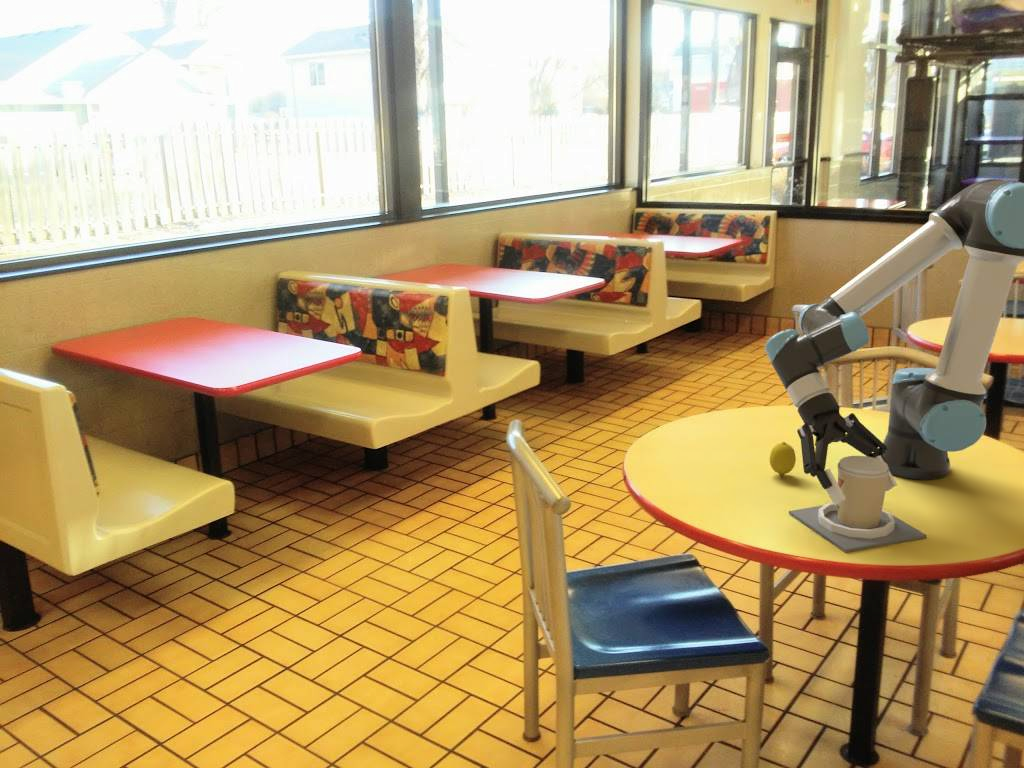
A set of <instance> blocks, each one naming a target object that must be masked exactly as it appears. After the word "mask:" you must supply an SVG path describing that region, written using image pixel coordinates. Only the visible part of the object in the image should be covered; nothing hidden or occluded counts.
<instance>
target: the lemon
mask: <svg viewBox="0 0 1024 768" xmlns="http://www.w3.org/2000/svg"><path fill="white" fill-rule="evenodd" d="M796 459H797V457H796V451H795V450H794V448H793V446H792V445H790V444H789V443H787V442H786V441H782V442H780V443H777V444H775V445H774V446H773V447H772V449H771V451H770V455H769V464H770V466H771V469H772V470H773V471H774V472H775V473H777V474H778V475H780V477H781V476H782V477H783V476H784V475H785V474H788V473H790V472H791V471H793V469H794V467H795V465H796Z"/></svg>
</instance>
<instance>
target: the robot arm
mask: <svg viewBox="0 0 1024 768" xmlns="http://www.w3.org/2000/svg"><path fill="white" fill-rule="evenodd" d="M963 248H965V250H966V251H967V253H968V254H969V257H968V262H967V265H966V268H965V271H964V274H963V278H962V281H961V285H960V289H959V292H958V295H957V298H956V302H955V304H954V307H953V312H952V314H951V317H950V321H949V324H948V328H947V330H946V331H947V332H946V334H945V338H944V340H943V345H942V346H941V347H942V348H941V352H940V354H939V357H938V361H937V364H936V368H931V367H906V368H905V367H904V368H899V369H898V370H896V371H895V372H894V373H893V378H892V382H891V394H890V395H891V396H890V404H889V415H888V425H887V426H888V427H887V433H886V435H885V438H884V439H883V442H882V441H881V440H880V439H879V438H878V437H877V436H876V435H875V434H874V433H872V431H870V430H869V429H868V428H867V427H866V426H865V425H864V424H862V422H860V420H859V418H858V417H857V416H856V414H855V413H853V412H851V413H849V414H848V415H847V416H845V417H843V416H842V415H841V413H840V404H839V402H837V399H836V398H835V395H834V394H833V393H831V392H830V391H831V389H830V386H829V385H828V383H827V382H826V380H825V379H824V377H823V374H822V373H821V371H820V370H819V368H821V367H823V366H825V365H827V364H829V363H831V362H833V361H836V360H838V359H840V358H842V357H845V356H847V355H848V354H849V355H850V354H851V353H854V352H856V351H858V350H860V349H861V348H862V347H865V346H867V345H868V344H869V343H870V339H871V337H870V334H869V333H870V332H869V331H868V328H867V325H866V324H865V322H864V320H863V318H862V316H863V315H865V314H866V313H867V312H869V311H870V310H872V308H874V307H876V306H877V305H878V304H880V303H881V302H882V301H883V300H885V299H886V298H888V297H889V296H891V295H892V294H893V293H895V292H896V291H897V290H899V289H900V288H901V287H903V286H904V285H906V284H907V283H908V282H910V281H911V280H913V279H914V278H915V277H916V276H918V275H919V274H920V273H922V272H923V271H924V270H926V269H927V268H928V267H930V266H931V265H933V264H934V263H935V262H937V261H938V260H939V259H941V258H942V257H944V256H945V255H946V254H947V253H949V252H950V251H951V250H961V249H963ZM1022 263H1024V182H1022V181H1018V182H1016V181H1008V180H1001V179H995V178H993V179H992V178H991V179H989V178H988V179H983V180H980V181H976V182H975V183H973V184H970V185H969V186H967V187H965V188H964V189H962V190H961V191H959V192H958V193H956V194H955V195H953V196H952V197H951V198H949V199H948V200H947V201H945V202H944V203H943V204H941V205H940V206H939V207H937V208H936V209H935V210H934V211H932V212H931V213H930V214H929V216H928V221H927V222H925V223H924V224H923V225H922V226H920V227H919V228H918V229H917V230H916V231H914V232H912V233H911V234H910V235H909V236H907V237H906V238H905V239H904V240H902V241H901V242H899V243H898V244H897V245H896V246H894V247H893V248H892V249H890V250H889V251H888V252H886V253H885V254H883V256H881V257H879V258H878V259H877V260H875V261H874V262H873V263H872V264H871V265H869V266H867V268H866V269H864V270H862V271H861V272H860V273H859V274H857V275H856V276H855V277H853V278H852V279H851V280H850V281H848V282H846V284H844V285H842V286H841V287H840V288H839V289H838V290H837V291H835V292H834V293H832V294H831V295H830V296H828V297H827V298H825V299H824V300H822V301H821V302H820V303H812V304H809V305H807V306H806V307H804V308H803V309H802V310H801V312H800V313H799V317H798V327H799V328H800V331H801V332H802V334H801V335H800V333H799V332H798V331H797V330H796V329H793V328H788V329H786V330H782V331H781V330H780V331H779V332H777V333H776V334H773V335H772V336H771V337H769V339H768V340H767V341H766V343H765V345H764V351H765V353H766V355H767V357H768V360H769V361H770V363H771V366H772V367H773V369H774V370H775V373H776V375H777V377H778V378H779V380H780V381H781V383H782V385H783V387H784V388H785V390H786V392H787V394H788V395H789V398H790V400H791V401H792V403H793V406H794V407H796V408H797V413H798V414H799V417H800V419H801V420H802V421H803V424H802V425H801V426H800V427H799V428H798V429H797V431H796V432H797V435H798V438H799V439H800V447H801V455H802V456H801V457H802V466H803V467H802V468H803V473H805V474H806V475H808V474H810V476H811V477H813V478H815V477H816V478H817V480H818V482H819V483H820V486H821V487H822V489H823V490H826V492H827V494H828V496H829V498H830V499H831V503H832V502H833V503H834V505H835V506H836V505H838V504H840V503H841V502H843V501H844V500H846V498H845V496H844V494H843V492H842V491H841V489H840V487H839V485H838V480H836V478H835V476H834V475H833V472H832V470H831V468H826V466H827V465H826V464H827V463H826V462H827V457H828V450H829V445H830V444H833V443H839V442H841V443H844V444H847V445H849V446H850V447H852V448H853V449H855V450H856V451H858V452H859V453H861V454H862V455H863V456H867V457H873V458H876V459H879V460H882V461H884V462H885V463H886V464H887V465H888V468H889V474H888V478H887V484H886V490H885V492H888V491H890V490H892V489H893V488H895V487H897V486H898V483H897V482H896V479H895V478H894V476H896V477H900V478H904V479H905V478H906V479H913V480H937V479H941V478H944V477H946V476H947V475H949V473H950V466H951V461H950V458H949V454H948V452H949V453H951V452H953V453H954V452H960V451H963V450H966V449H967V448H969V447H972V446H974V445H975V444H976V443H977V442H978V441H980V439H981V438H982V436H983V435H984V433H985V430H986V427H987V418H986V415H985V412H984V411H983V408H982V406H983V403H984V400H985V397H986V393H987V389H986V388H985V386H984V385H983V383H982V379H983V375H984V371H985V370H986V368H985V367H986V365H987V362H988V358H989V356H990V352H991V350H992V348H993V347H992V346H993V343H994V340H995V337H996V334H997V331H998V328H999V324H1000V321H1001V318H1002V315H1003V312H1004V309H1005V305H1006V303H1007V300H1008V296H1009V293H1010V290H1011V288H1012V287H1011V286H1012V284H1013V280H1014V277H1015V274H1016V271H1017V267H1018V266H1019V265H1020V264H1022ZM814 436H815V440H814Z"/></svg>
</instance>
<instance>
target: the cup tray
mask: <svg viewBox="0 0 1024 768" xmlns="http://www.w3.org/2000/svg"><path fill="white" fill-rule="evenodd" d="M788 514H789V515H790V516H791V517H793V518H794V519H795V520H797V521H799V522H800V523H802V524H803V525H805V526H806V527H807V528H809V530H812V531H813V532H815V533H816V534H817V535H819V536H820V537H821V538H822V539H823V538H824V539H825V540H826V541H828V542H829V544H832V545H833V546H835V547H836V548H838V549H839V550H840V551H841V552H843V553H849V552H854V551H861V550H867V549H872V548H877V547H878V548H879V547H882V546H889V545H893V544H900V543H904V542H911V541H916V540H921V539H926V538H927V534H926V533H924V532H923V531H921V530H919V529H917V528H915V527H914V526H912V525H910V524H909V523H907V522H905V521H903V520H902V519H900V518H898V517H897V516H895V515H894V514H892V513H891V512H889V511H887V510H886V509H884V508H882V513H881V518H880V523H879V525H878V526H877V527H875V528H871V529H858V528H853V527H849V526H846V525H844V524H842V523H841V522H840V521H839V520H838V505H836V506H835V505H834V503H833V502H832V501H831V502H827V503H825V504H823V505H818V506H817V505H816V506H811V507H804V508H800V509H793V510H788Z"/></svg>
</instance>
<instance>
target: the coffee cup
mask: <svg viewBox="0 0 1024 768" xmlns="http://www.w3.org/2000/svg"><path fill="white" fill-rule="evenodd" d="M888 474H889V468H888V465H887V464H886V463H885V462H884V461H882V460H879V459H876V458H873V457H867V456H866V455H848V456H844V457H842V458H841V459H840V460H839V461H838V463H837V483H838V485H839V487H840V489H841V491H842V492H843V494H844V496H845V498H846V500H844V501H843V502H841V503H840V504H838V520H839V521H840V522H841V523H842V524H844V525H846V526H849V527H853V528H858V529H871V528H875V527H877V526H878V525H879V523H880V518H881V513H882V509H883V507H884V500H885V495H886V491H885V490H886V484H887V478H888Z"/></svg>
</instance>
